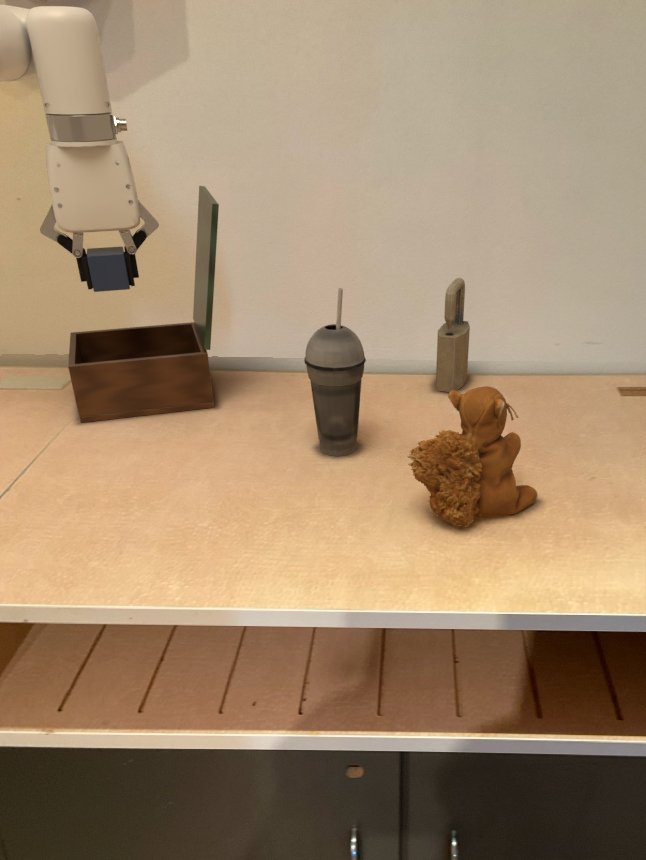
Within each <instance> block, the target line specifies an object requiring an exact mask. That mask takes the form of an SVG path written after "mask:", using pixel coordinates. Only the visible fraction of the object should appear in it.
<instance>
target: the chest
mask: <svg viewBox="0 0 646 860" xmlns="http://www.w3.org/2000/svg"><path fill="white" fill-rule="evenodd" d="M69 334H70V336H69V350H68V365H67V367H68V373H69V377H70V381H71V386H72V390H73V395H74V399H75V403H76V408H77V412H78V417H79V421H80V423H91V422H98V421H107V420H116V419H126V418H134V417H142V416H143V417H144V416H151V415H160V414H168V413H177V412H185V411H196V410H203V409H212V408H213V409H214V408H215V400H214V392H213V384H212V378H211V377H212V376H211V369H210V368H211V367H210V360H209V353H208V350H204V347H203V344H202V342H201V339H200V336H199V333H198V331H197V328H196V325H195V322H194V321H191V322H179V323H168V324H157V325H144V326H132V327H131V326H130V327H121V328H119V327H118V328H107V329H96V330H83V331H73V332H72V331H71V332H70V333H69Z"/></svg>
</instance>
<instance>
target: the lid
mask: <svg viewBox="0 0 646 860" xmlns="http://www.w3.org/2000/svg"><path fill="white" fill-rule="evenodd" d="M197 201H198V203H197V204H198V205H197V224H196V246H195V247H196V248H195V265H194V267H195V268H194V289H193V309H192V310H193V311H192V320H193V322H195V325H196V328H197V331H198V333H199V336H200V339H201V342H202V344H203V347H204V350H207V351H211V345H212V344H211V343H212V329H213V328H212V327H213V311H214V293H215V280H216V279H215V276H216V259H217V244H218V227H219V226H218V224H219V210H220V209H219V208H220V204H219V203H218V202H217V200H216V199H215V198H214V196H213V195H212V193H211V192H210V191H209V190H208V188H207V187H206V186H205V185H199V186H198V200H197Z"/></svg>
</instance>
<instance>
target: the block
mask: <svg viewBox="0 0 646 860" xmlns="http://www.w3.org/2000/svg"><path fill="white" fill-rule="evenodd" d="M124 252H125V249H124V246H109V247H108V246H107V247H93V248H92V247H91V248H90V247H89V248H86V254H87V260H88V265H89V270H90V275H91V280H92V285H93V288H92V290H93V292H94V293H98V292H99V293H101V292H111V291H112V292H113V291H126V290H131V285H129V280H128V274H127V268H126V263H125V257H124Z"/></svg>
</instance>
